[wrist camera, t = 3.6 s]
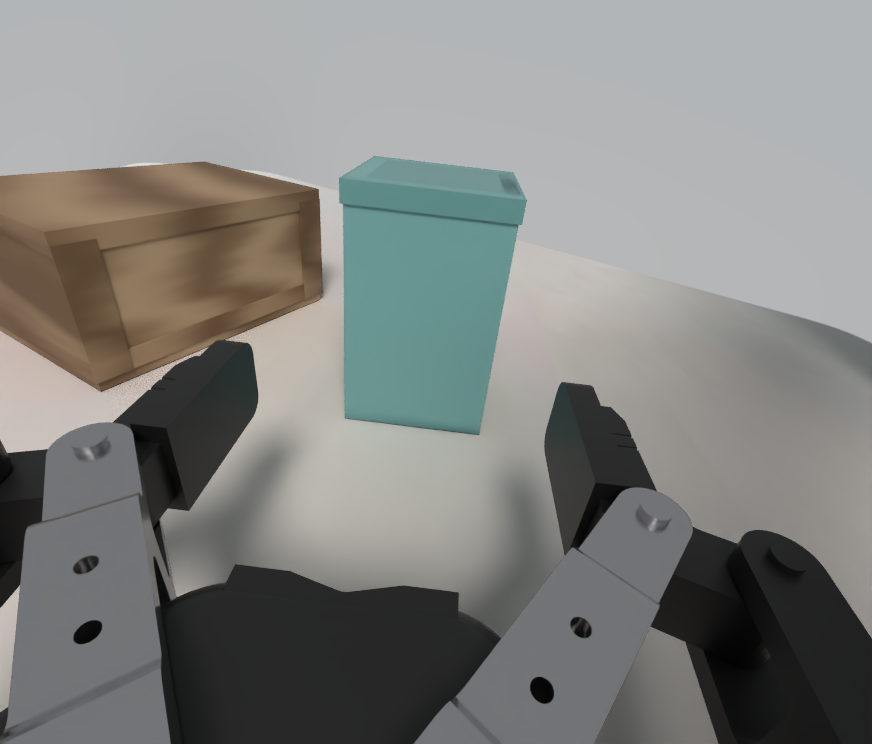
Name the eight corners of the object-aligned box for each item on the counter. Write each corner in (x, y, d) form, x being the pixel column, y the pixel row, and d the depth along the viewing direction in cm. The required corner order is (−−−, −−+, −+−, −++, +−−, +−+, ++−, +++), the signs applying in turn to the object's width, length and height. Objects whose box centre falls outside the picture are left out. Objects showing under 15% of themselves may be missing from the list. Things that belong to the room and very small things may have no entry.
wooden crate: (219, 262, 35) (203, 161, 31) (322, 299, 31) (319, 189, 27) (-14, 324, 24) (-79, 181, 20) (100, 393, 20) (44, 232, 16)
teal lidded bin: (369, 351, 26) (374, 156, 20) (479, 365, 26) (513, 172, 20) (341, 419, 20) (339, 177, 15) (481, 436, 20) (526, 200, 15)
